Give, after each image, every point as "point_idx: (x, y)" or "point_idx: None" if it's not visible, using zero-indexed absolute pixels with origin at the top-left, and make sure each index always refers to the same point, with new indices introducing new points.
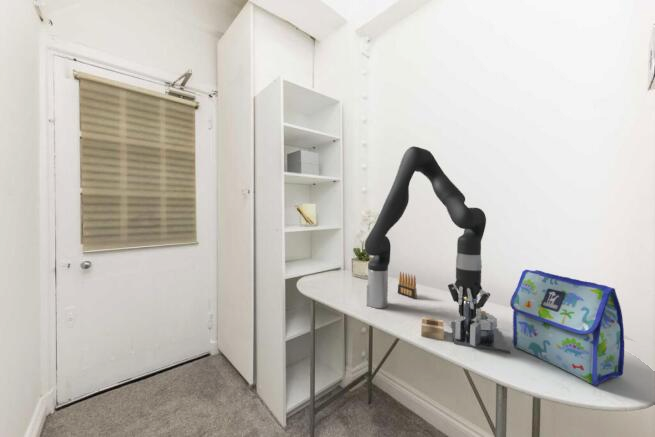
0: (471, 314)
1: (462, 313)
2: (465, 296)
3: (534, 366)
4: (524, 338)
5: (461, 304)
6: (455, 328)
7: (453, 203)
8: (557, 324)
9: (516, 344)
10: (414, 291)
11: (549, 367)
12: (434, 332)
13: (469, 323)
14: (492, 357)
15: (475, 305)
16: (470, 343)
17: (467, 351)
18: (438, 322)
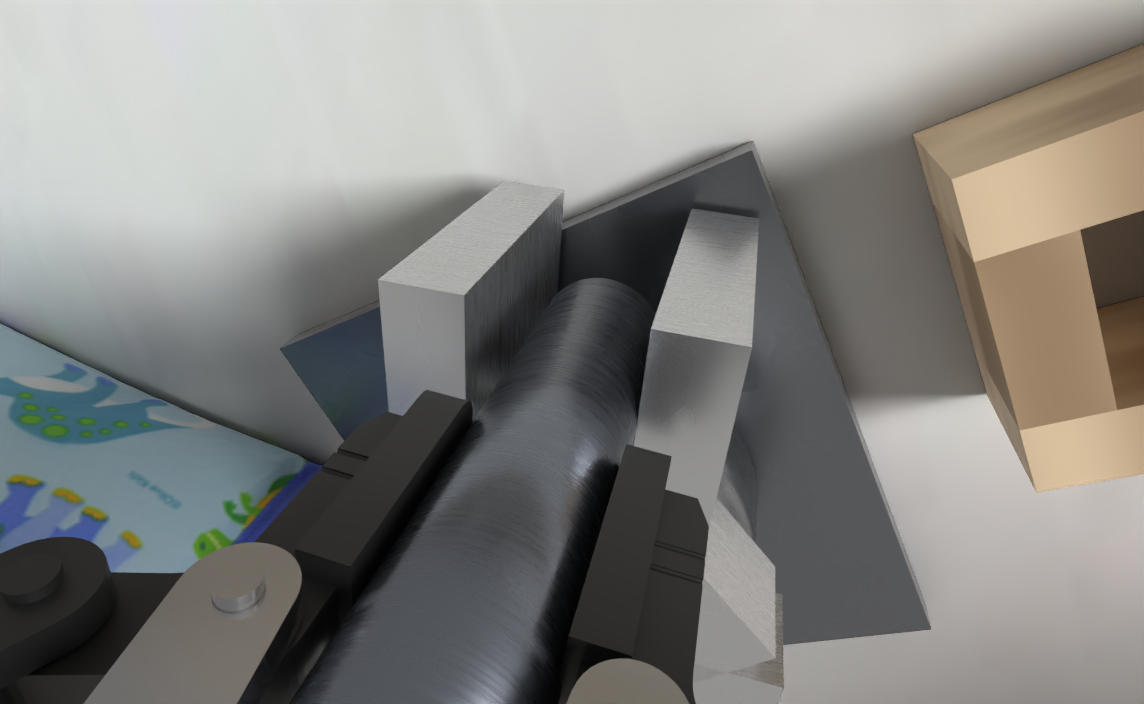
0: (378, 452)
1: (613, 489)
2: None
3: (120, 254)
4: (135, 484)
5: (581, 679)
6: (835, 492)
7: None
8: None
9: (293, 476)
10: None
11: (79, 314)
12: (1109, 88)
13: (512, 363)
14: (349, 148)
15: (110, 650)
16: (552, 192)
17: (566, 68)
18: (1104, 371)
